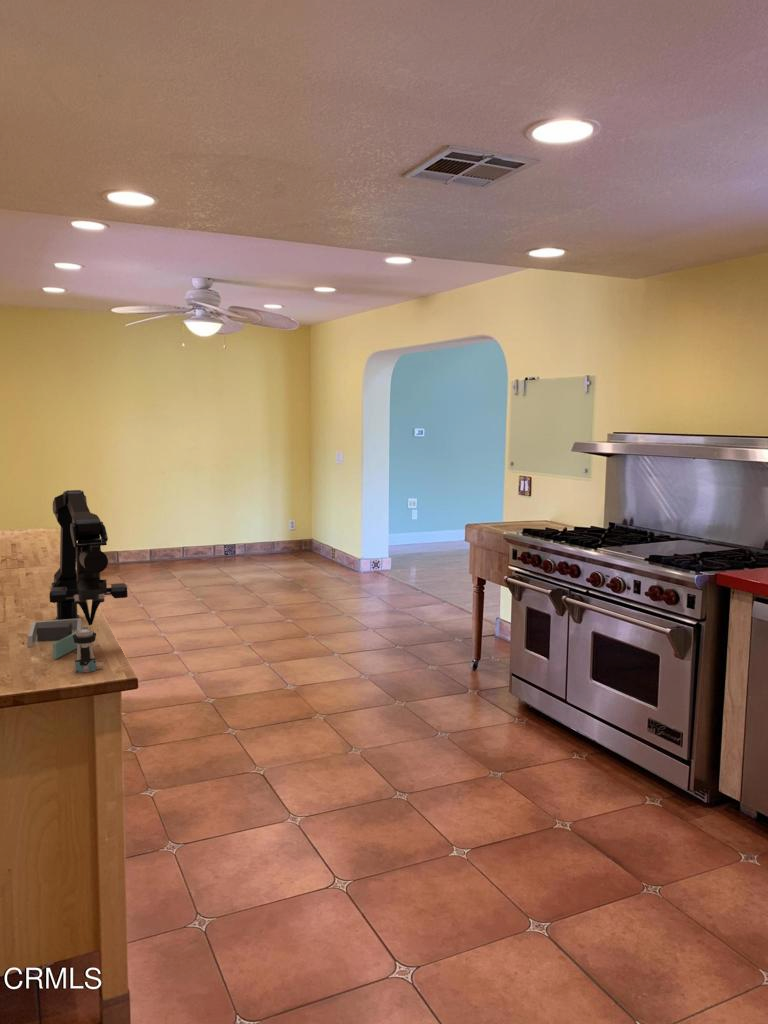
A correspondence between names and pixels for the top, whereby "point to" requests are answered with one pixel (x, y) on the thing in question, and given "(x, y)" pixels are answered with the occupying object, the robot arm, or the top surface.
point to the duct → (33, 630)
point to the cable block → (53, 631)
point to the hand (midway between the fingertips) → (90, 624)
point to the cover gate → (64, 646)
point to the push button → (85, 651)
